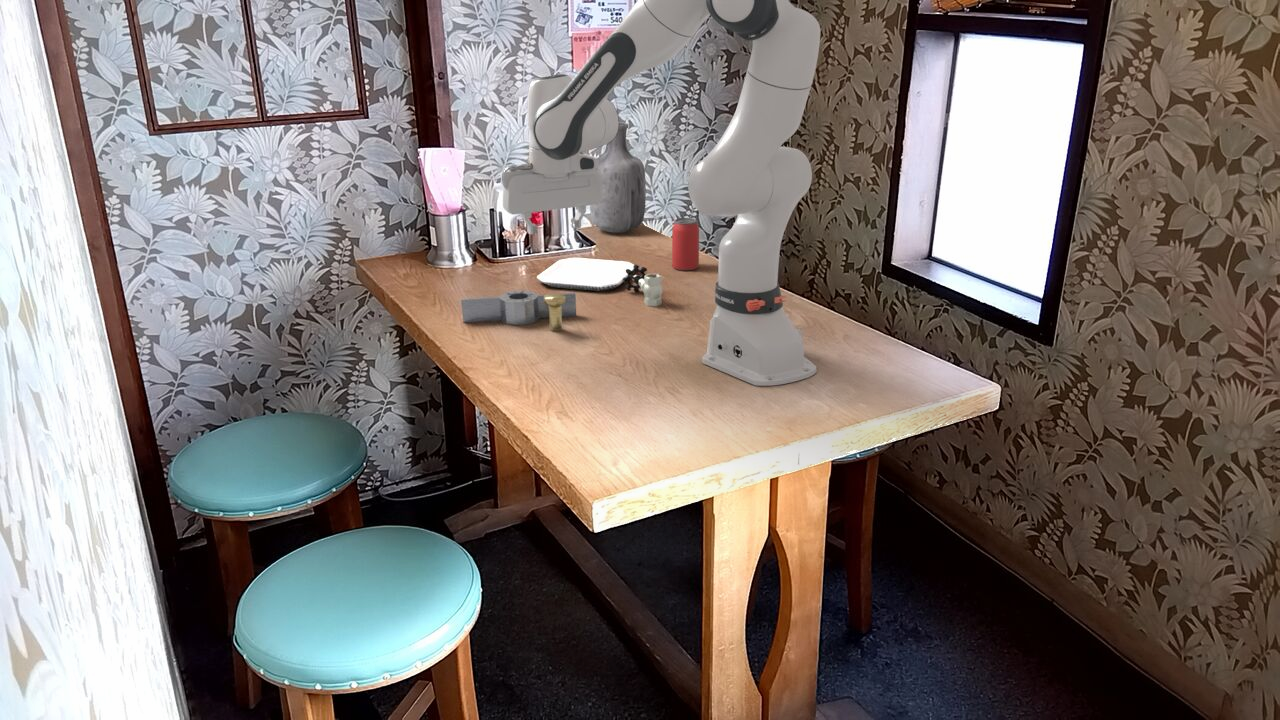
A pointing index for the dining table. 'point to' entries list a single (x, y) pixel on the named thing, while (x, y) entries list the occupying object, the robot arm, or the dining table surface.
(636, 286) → the valve
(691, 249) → the beer can
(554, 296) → the hinge pin
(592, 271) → the plate
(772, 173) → the robot arm
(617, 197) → the vase
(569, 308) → the hinge
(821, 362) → the dining table surface
